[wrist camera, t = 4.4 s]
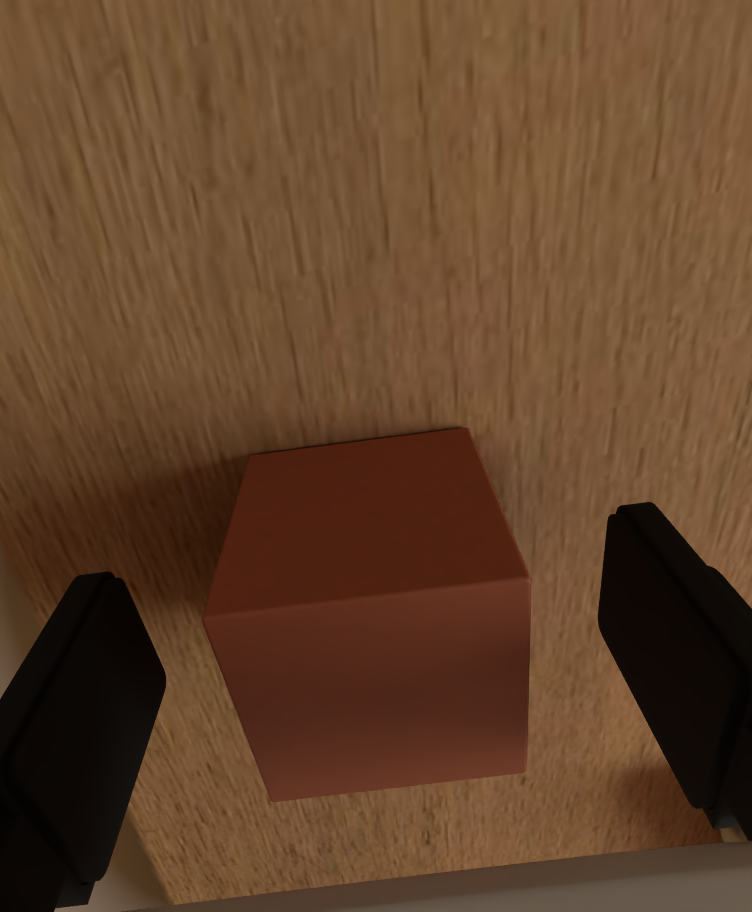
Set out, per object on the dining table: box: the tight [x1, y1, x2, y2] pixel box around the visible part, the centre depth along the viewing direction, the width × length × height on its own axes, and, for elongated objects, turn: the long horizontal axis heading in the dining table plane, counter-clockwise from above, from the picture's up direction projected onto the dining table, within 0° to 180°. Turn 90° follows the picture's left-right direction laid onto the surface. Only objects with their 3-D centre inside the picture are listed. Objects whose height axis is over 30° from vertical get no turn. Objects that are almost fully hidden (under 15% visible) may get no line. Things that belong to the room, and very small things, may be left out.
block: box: [202, 428, 531, 802], centre depth 11 cm, size 4×4×4 cm
